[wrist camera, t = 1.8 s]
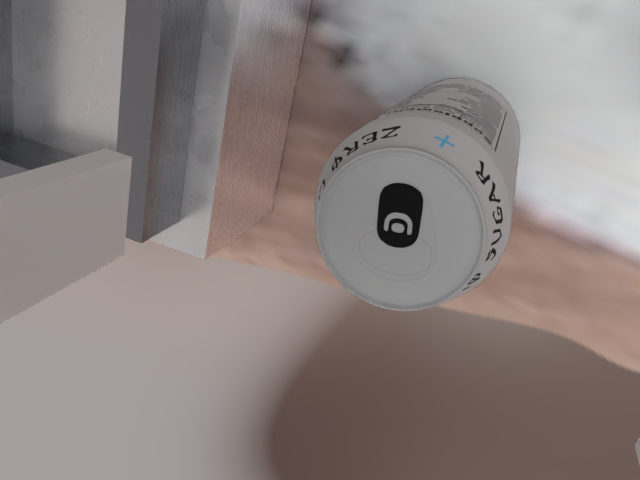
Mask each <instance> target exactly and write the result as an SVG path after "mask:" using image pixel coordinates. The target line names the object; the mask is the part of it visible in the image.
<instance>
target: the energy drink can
mask: <svg viewBox="0 0 640 480" xmlns="http://www.w3.org/2000/svg"><path fill="white" fill-rule="evenodd" d="M519 145H520V132H519V125H518V122H517V119H516V116H515V113H514V111H513V110H512V108H511V106H510V105H509V103H508V102H507V101H506V100H505V99H504V97H503V96H502V95H501V94H500V93H498V92H497V91H496V90H494V89H493V88H491V87H490V86H488V85H486V84H483V83H481V82H479V81H475V80H470V79H465V78H452V79H447V80H442V81H438V82H436V83H434V84H431V85H429V86H427V87H425V88H424V89H422V90H420V91H419V92H417V93H416V94H414V95H412V96H411V97H409V98H408V99H406V100H404V101H403V102H401V103H399V104H398V105H396V106H395V107H393V108H391V109H390V110H388V111H387V112H385V113H383V114H382V115H380V116H379V117H377V118H375V119H374V120H372V121H370V122H369V123H367V124H366V125H364V126H362V127H361V128H359V129H358V130H356V131H355V132H353V133H352V134H350V135H349V136H347V137H346V138H345V139H344V140H343V141H342V142H341V143H340V144H339V145H338V147H337V148H336V149H335V150H334V151H333V152H332V154H331V156H330V157H329V159H328V160H327V162H326V163H325V165H324V167H323V170H322V173H321V175H320V178H319V180H318V184H317V190H316V196H315V216H316V218H315V222H316V237H317V241H318V245H319V249H320V252H321V254H322V256H323V259H324V261H325V263H326V265H327V266H328V268H329V269H330V271H331V272H332V274H333V275H334V277H335V278H336V279H337V280H338V281H339V282H340V283H341V284H342V285H343V286H344V287H345V288H346V289H347V290H349V291H350V292H351V293H353V294H354V295H356V296H357V297H358V298H360V299H362V300H364V301H366V302H368V303H370V304H372V305H375V306H378V307H382V308H385V309H389V310H397V311H417V310H423V309H426V308H431V307H435V306H437V305H439V304H441V303H444V302H446V301H448V300H452V299H454V298H456V297H458V296H460V295H462V294H465V293H467V292H469V291H470V290H471V289H473V288H474V287H475V286H477V285H478V284H479V283H481V282H482V281H483V280H484V279H485V278H486V277H487V276H488V275H489V274H490V273H491V271H492V270H493V269H494V268H495V267H496V265H497V263H498V262H499V260H500V258H501V256H502V255H503V253H504V251H505V249H506V245H507V242H508V239H509V236H510V233H511V224H512V214H513V204H514V194H515V185H516V175H517V165H518V155H519Z"/></svg>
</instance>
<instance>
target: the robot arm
mask: <svg viewBox="0 0 640 480" xmlns="http://www.w3.org/2000/svg"><path fill="white" fill-rule="evenodd" d="M131 165H132V157H130V156H127V155H124V154H121V153H118V152H115V151H112V150H109V149H103V150H99V151H96V152H92V153H89V154H85V155H82V156H78V157H75V158H71V159H68V160H64V161H61V162H57V163H53V164H50V165H46V166H43V167H39V168H36V169H32V170H29V171H25V172H22V173H18V174H15V175H11V176H8V177H4V178H0V323H2V322H4V321H6V320H8V319H9V318H11V317H13V316H15V315H17V314H19V313H20V312H22V311H24V310H26V309H27V308H29V307H31V306H33V305H35V304H36V303H38V302H40V301H42V300H44V299H46V298H47V297H49V296H51V295H53V294H54V293H56V292H58V291H60V290H62V289H63V288H65V287H67V286H69V285H71V284H72V283H74V282H76V281H78V280H80V279H81V278H83V277H85V276H87V275H89V274H90V273H92V272H94V271H96V270H98V269H99V268H101V267H103V266H105V265H107V264H108V263H110V262H112V261H114V260H116V259H117V258H119V257H121V256H123V255H124V250H125V238H126V226H127V214H128V202H129V190H130V178H131ZM635 448H636V452H637V456H638V460H639V464H640V437H639V439H638V441H637V443H636V444H635Z"/></svg>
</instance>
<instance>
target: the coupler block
mask: <svg viewBox="0 0 640 480" xmlns="http://www.w3.org/2000/svg"><path fill="white" fill-rule="evenodd" d="M311 1H312V0H0V178H4V177H8V176H11V175H15V174H18V173H22V172H25V171H29V170H32V169H36V168H39V167H43V166H46V165H50V164H53V163H57V162H61V161H64V160H68V159H71V158H75V157H78V156H82V155H85V154H89V153H92V152H96V151H99V150H103V149H109V150H112V151H115V152H118V153H121V154H124V155H127V156H130V157H132V165H131V178H130V190H129V202H128V214H127V226H126V238H129V239H132V240H134V241H137V242H140V243H143V242H145V241H146V240H150V241H153V242H156V243H159V244H161V245H164V246H167V247H170V248H172V249H175V250H178V251H181V252H183V253H186V254H189V255H192V256H195V257H197V258H200V259H203V260H206V259H207V258H208V257H210V256H211V255H212V254H214V253H215V252H217V251H218V250H219V249H221V248H222V247H223V246H225V245H226V244H228V243H229V242H230V241H232V240H233V239H234V238H236V237H237V236H239V235H240V234H241V233H243V232H244V231H245V230H247V229H248V228H249V227H251V226H252V225H254V224H255V223H256V222H258V221H259V220H260V219H262V218H263V217H265V216H266V215H267V214H269V213H270V212H271V211H272V210H273V204H274V199H275V194H276V188H277V183H278V178H279V172H280V167H281V161H282V156H283V151H284V145H285V140H286V135H287V129H288V124H289V119H290V113H291V108H292V103H293V97H294V92H295V87H296V81H297V76H298V71H299V65H300V60H301V55H302V49H303V44H304V38H305V33H306V28H307V22H308V17H309V12H310V6H311Z"/></svg>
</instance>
